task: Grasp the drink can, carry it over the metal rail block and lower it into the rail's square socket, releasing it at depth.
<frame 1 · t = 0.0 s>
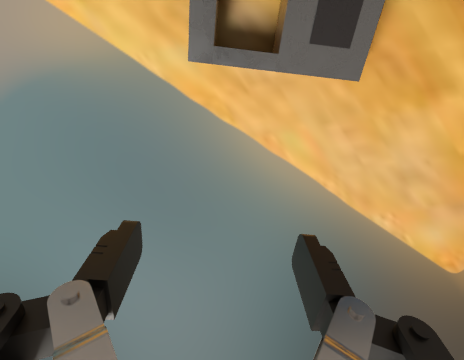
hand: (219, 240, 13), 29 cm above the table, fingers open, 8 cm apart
rail: (277, 20, 33), on the table
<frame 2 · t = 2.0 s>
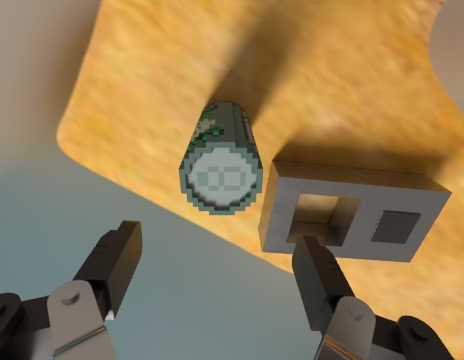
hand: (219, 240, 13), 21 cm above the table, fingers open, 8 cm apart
can: (223, 125, 32), on the table
rail: (336, 203, 37), on the table
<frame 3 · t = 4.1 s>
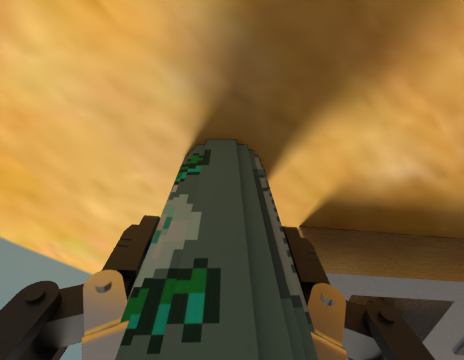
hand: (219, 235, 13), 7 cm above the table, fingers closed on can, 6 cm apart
can: (222, 176, 19), on the table, touching gripper
rail: (393, 282, 25), on the table
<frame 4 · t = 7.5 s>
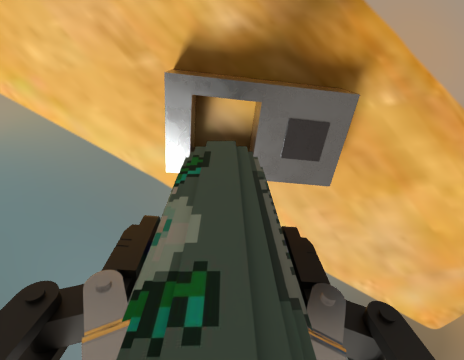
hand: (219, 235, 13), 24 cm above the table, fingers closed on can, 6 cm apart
can: (222, 177, 19), point 17 cm above the table, touching gripper
rail: (252, 125, 35), on the table
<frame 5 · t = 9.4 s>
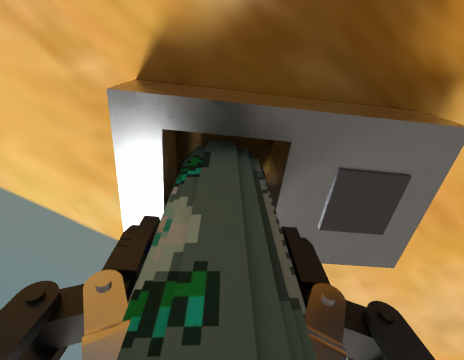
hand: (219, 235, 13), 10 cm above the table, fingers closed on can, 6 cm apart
can: (222, 178, 19), point 3 cm above the table, touching gripper
rail: (268, 166, 22), on the table
when the fingers open (8 cm above the table, at t = 10.8 s): can stays where it is, resting in rail.
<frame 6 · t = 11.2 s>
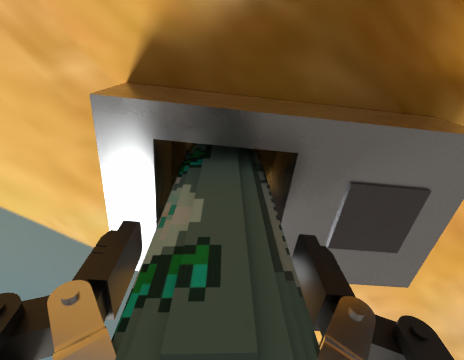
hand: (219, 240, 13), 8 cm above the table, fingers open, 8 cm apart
can: (222, 171, 20), resting in rail
rail: (271, 176, 20), on the table
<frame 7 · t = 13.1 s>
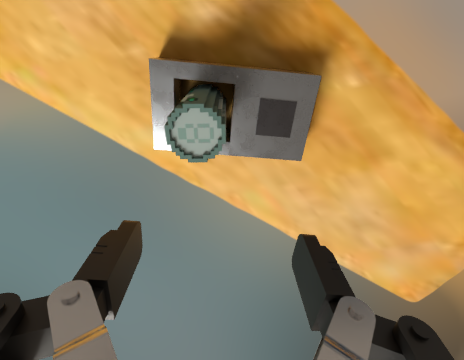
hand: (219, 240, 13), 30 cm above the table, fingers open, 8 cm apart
can: (206, 104, 39), resting in rail
rail: (231, 107, 39), on the table
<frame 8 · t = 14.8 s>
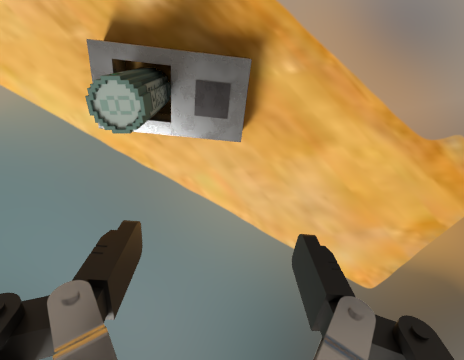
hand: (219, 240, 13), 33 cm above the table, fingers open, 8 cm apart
can: (152, 87, 41), resting in rail
rail: (177, 90, 41), on the table
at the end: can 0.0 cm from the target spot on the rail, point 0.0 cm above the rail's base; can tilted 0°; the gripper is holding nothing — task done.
